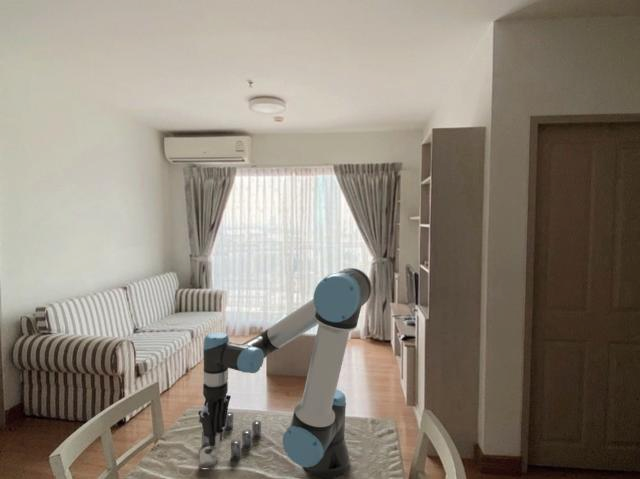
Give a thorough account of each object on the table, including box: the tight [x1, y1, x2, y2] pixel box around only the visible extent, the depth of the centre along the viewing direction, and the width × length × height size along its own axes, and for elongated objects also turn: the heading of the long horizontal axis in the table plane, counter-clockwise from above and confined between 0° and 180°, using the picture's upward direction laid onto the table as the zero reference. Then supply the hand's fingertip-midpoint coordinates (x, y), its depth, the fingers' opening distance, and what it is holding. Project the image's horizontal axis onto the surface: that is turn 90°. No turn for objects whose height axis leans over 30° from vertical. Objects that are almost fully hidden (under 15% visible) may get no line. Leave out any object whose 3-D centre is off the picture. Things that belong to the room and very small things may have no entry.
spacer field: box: [201, 411, 262, 461], centre depth 121 cm, size 15×15×5 cm
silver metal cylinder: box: [199, 446, 217, 469], centre depth 110 cm, size 5×5×4 cm
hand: (214, 452), depth 113 cm, fingers closed
